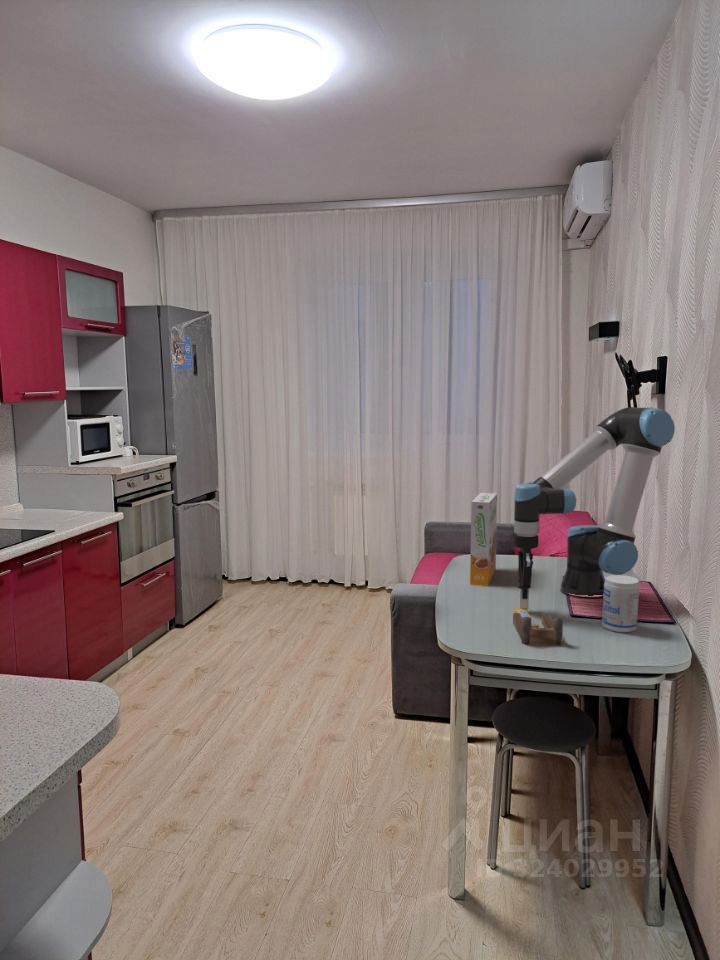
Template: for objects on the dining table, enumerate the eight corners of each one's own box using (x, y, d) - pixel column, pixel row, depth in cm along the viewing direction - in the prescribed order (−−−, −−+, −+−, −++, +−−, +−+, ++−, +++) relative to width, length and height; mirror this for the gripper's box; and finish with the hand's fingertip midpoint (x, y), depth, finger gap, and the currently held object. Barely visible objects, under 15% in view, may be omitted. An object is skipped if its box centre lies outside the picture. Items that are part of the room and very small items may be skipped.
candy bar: (540, 631, 200) (540, 625, 200) (525, 631, 200) (525, 625, 200) (526, 612, 217) (527, 607, 217) (513, 612, 217) (513, 607, 217)
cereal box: (487, 585, 247) (489, 502, 243) (470, 584, 248) (471, 501, 245) (495, 570, 268) (497, 493, 264) (479, 569, 270) (480, 492, 266)
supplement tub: (595, 627, 203) (597, 578, 201) (611, 620, 210) (613, 572, 208) (627, 636, 196) (630, 585, 194) (642, 628, 202) (645, 578, 201)
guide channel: (549, 623, 207) (549, 600, 206) (563, 645, 189) (563, 620, 188) (512, 622, 207) (512, 600, 207) (522, 644, 190) (523, 619, 189)
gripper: (510, 529, 221) (508, 601, 224) (516, 538, 208) (514, 614, 211) (534, 530, 221) (532, 602, 224) (542, 538, 208) (539, 615, 211)
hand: (523, 607), depth 217 cm, fingers closed
